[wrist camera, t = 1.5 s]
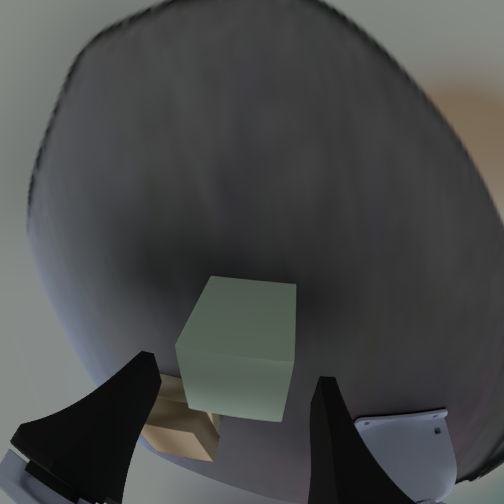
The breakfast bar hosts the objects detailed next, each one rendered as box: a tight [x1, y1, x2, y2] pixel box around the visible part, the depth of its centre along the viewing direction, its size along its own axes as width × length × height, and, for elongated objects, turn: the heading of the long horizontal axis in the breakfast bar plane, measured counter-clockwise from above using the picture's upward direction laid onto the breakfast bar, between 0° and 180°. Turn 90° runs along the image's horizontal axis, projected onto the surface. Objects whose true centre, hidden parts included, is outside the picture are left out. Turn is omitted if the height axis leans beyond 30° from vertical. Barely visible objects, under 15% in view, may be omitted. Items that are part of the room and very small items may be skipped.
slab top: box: [141, 398, 220, 461], centre depth 17 cm, size 5×5×2 cm
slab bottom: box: [157, 374, 221, 433], centre depth 20 cm, size 6×6×2 cm
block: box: [175, 276, 296, 422], centre depth 13 cm, size 4×4×6 cm
